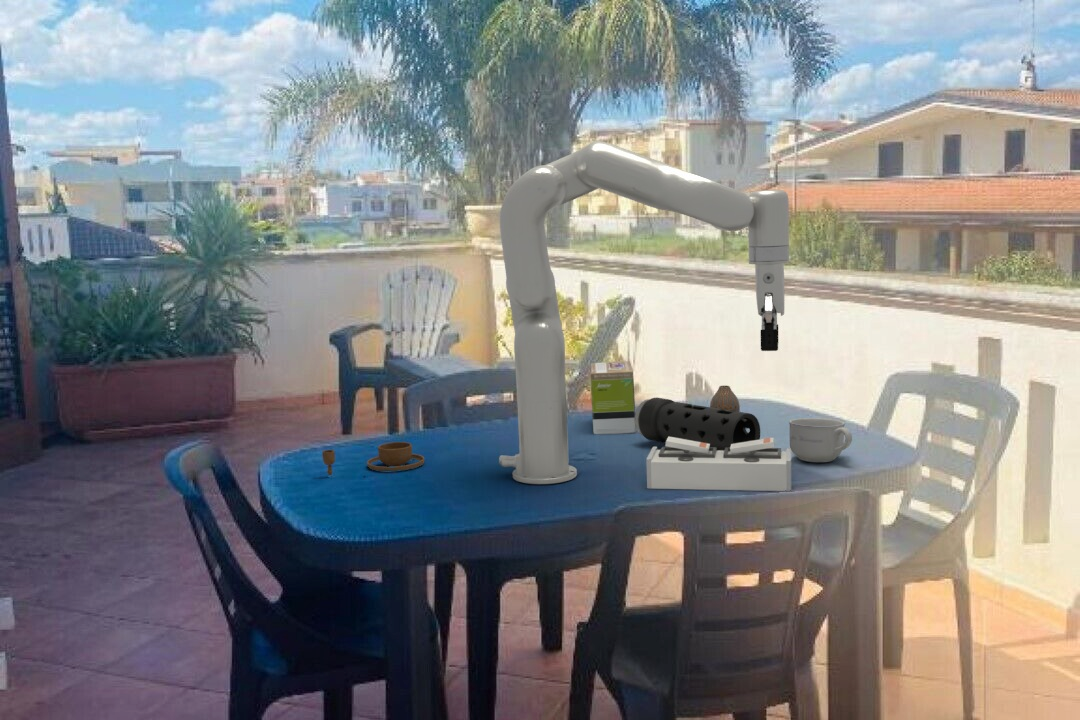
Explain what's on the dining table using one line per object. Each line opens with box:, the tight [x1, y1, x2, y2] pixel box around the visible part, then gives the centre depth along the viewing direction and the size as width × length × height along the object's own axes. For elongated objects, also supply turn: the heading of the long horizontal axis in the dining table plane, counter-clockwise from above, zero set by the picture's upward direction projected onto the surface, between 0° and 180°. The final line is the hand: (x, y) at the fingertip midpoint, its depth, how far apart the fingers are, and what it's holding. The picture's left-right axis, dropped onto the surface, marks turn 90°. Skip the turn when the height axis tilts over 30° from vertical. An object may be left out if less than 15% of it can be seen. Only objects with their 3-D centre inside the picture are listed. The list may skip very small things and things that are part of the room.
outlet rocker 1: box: [664, 436, 710, 454], centre depth 204 cm, size 8×4×2 cm, turn 77°
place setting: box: [322, 441, 425, 476], centre depth 225 cm, size 18×20×6 cm
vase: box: [709, 385, 741, 412], centre depth 254 cm, size 7×7×9 cm
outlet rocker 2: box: [730, 437, 775, 454], centre depth 201 cm, size 8×4×2 cm, turn 77°
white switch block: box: [645, 446, 792, 492], centre depth 201 cm, size 26×10×6 cm, turn 77°
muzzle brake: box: [634, 397, 761, 451], centre depth 227 cm, size 10×28×10 cm, turn 39°
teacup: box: [788, 417, 853, 463], centre depth 214 cm, size 14×11×8 cm
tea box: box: [590, 360, 637, 435], centre depth 254 cm, size 15×10×15 cm
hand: (769, 347), depth 208 cm, fingers open, 7 cm apart
